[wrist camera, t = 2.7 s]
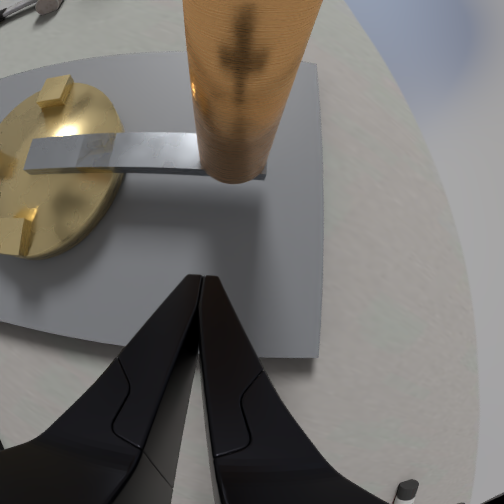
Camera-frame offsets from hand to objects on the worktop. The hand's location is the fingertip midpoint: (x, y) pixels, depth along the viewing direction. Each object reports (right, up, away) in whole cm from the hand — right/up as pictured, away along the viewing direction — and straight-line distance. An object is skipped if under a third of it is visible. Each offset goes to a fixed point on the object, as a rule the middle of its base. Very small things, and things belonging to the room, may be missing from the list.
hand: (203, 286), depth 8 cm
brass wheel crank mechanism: (-10, +7, +11) cm, 16 cm away
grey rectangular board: (-11, +7, +13) cm, 18 cm away
